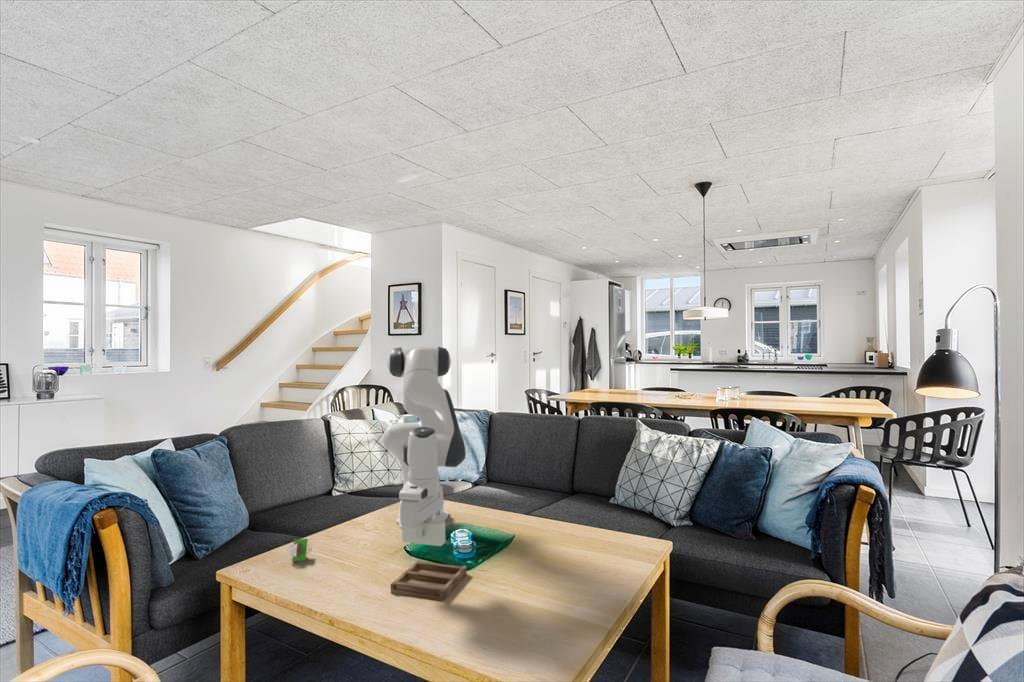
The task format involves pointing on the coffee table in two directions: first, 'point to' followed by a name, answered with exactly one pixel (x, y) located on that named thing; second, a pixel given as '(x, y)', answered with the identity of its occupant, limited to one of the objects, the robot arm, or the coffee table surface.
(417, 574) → the brown wooden flat frame
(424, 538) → the white rectangular block
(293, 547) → the geometric puzzle
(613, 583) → the coffee table surface
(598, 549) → the coffee table surface
